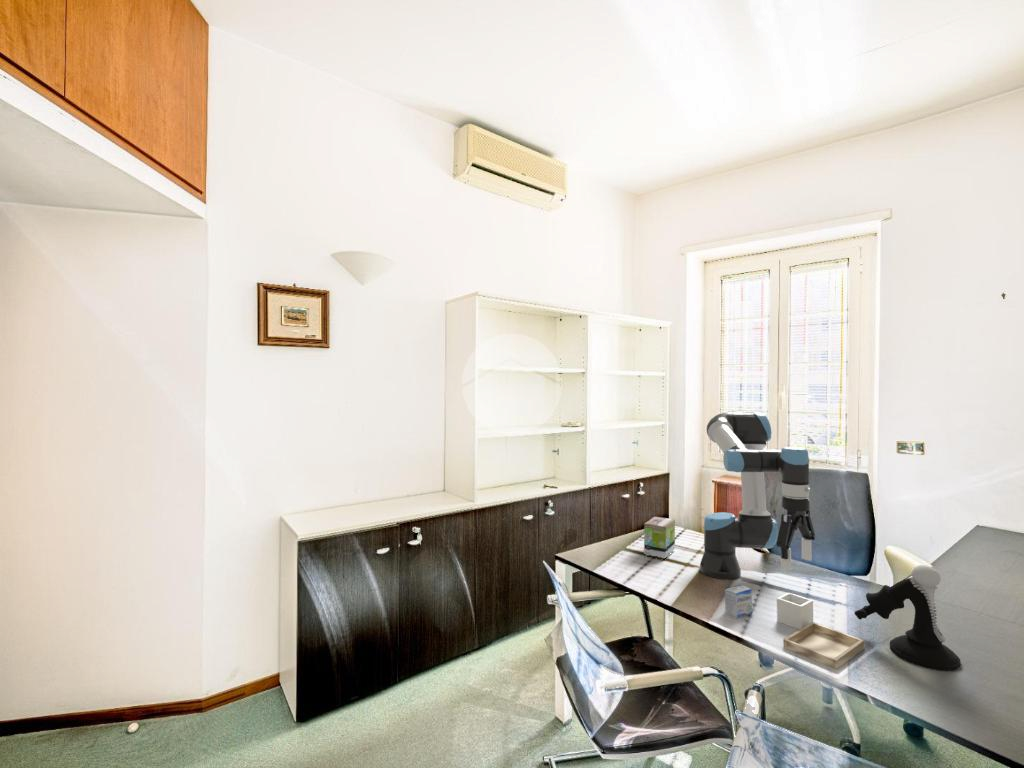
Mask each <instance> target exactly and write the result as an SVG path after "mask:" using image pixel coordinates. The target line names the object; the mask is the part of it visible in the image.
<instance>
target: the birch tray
mask: <svg viewBox="0 0 1024 768" xmlns="http://www.w3.org/2000/svg"><path fill="white" fill-rule="evenodd" d="M783 648H785V649H787V650H789V651H792V652H795V653H797V654H799V655H802V656H804V657H806V658H809V659H812V660H814V661H817V662H818V663H821V664H823V665H825V666H828V667H830V668H833V669H836V670H838V669H839V668H840V667H842V666H844V665H845V663H847V662H849V660H850V659H852V658H854V657H855V656H856V655H857V654H859V653H860V652H862V651H863V650H864V649H865V640H864V639H862V638H859V637H856V636H853V635H851V634H847V633H846V632H845V633H844V632H842V631H840V630H836V629H834V628H830V627H827V626H825V625H823V624H819V623H817V622H815V621H813V622H811V623H810V624H808V625H806V626H805V627H803V628H801V629H800V630H799V629H797V630H796V631H795V632H793V633H791V634H790V635H788V636H786V637H784V638H783Z"/></svg>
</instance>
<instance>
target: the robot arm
mask: <svg viewBox="0 0 1024 768" xmlns="http://www.w3.org/2000/svg"><path fill="white" fill-rule="evenodd" d="M706 434H707V436H708V438H709V439H710V440H711V441H712V442H713V443H715V444H716V445H717V447H719V449H720V450H721V451H722V453H723V459H722V460H723V462H722V463H723V465H724V469H725V471H726V472H734V473H740V481H741V483H740V484H741V499H742V500H741V501H742V503H741V504H742V509H741V510H740V511H739V512H738V517H736V515H735V514H734V513H731V512H724V511H723V512H722V511H721V512H713V513H710V514H708V515H706V516H705V517H704V520H703V521H704V522H703V537H704V539H703V541H704V542H703V544H704V545H703V546H704V548H703V549H704V551H703V554H702V558H701V560H700V563H699V571H700V573H702V574H703V575H705V576H708V577H709V578H710V577H711V578H716V579H720V580H734V579H739V578H741V575H742V573H741V571H742V570H741V567H740V563H739V560H738V558H737V556H736V549H737V548H738V549H739V548H741V549H759V550H762V549H764V550H765V549H772V548H774V546H775V545H776V547H779V548H780V568H781V569H784V570H787V571H792V549H791V548H790V547H791V544H792V542H793V538H794V536H795V532H796V531H797V530H799V532H800V534H801V536H802V538H801V541H800V542H801V559H802V560H805V561H809V562H811V561H812V560H813V559H812V557H813V555H812V553H813V552H812V549H813V548H812V541H815V540H816V537H815V536H816V533H815V529H814V525H813V522H812V518H811V511H810V508H811V507H810V505H811V504H810V499H809V497H810V492H811V488H810V457H809V451H808V449H807V448H804V447H800V446H783V448H774V449H764V448H766V446H767V442H769V441H771V439H772V427H771V423H770V420H769V419H768V416H766V415H765V414H764V413H762V412H756V411H755V412H753V411H752V412H748V411H747V412H722V413H719V414H717V415H715V416H713V417H712V418H711V419H710V420H709V422H708V423H707V424H706ZM765 473H774V474H775V473H776V474H777V473H779V474H781V495H783V496H782V497H781V507H782V508H783V509H784V510H786V514H783V513H782V514H781V517H780V526H779V527H778V523H777V520H776V519H774V518H772V514H771V512H769V511H768V510H767V497H766V481H765V479H766V478H765Z"/></svg>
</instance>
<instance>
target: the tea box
mask: <svg viewBox="0 0 1024 768" xmlns="http://www.w3.org/2000/svg"><path fill="white" fill-rule="evenodd" d="M643 527H644V530H643V532H644V533H643V534H644V535H643V536H644V538H643V539H644V540H643V547H644V548H643V555H644V554H646V555H652V556H658V557H662V558H666V557H667V556H668V557H670V556H671V554H670V553H672V552H673V550H674V549H675V550H676V519H673V518H667V517H661V516H660V517H659V516H653V517H651V518H650V519H649V520H648V521H646V522H644V526H643ZM673 553H674V552H673ZM673 553H672V554H673ZM669 555H670V556H669ZM668 557H667V558H668ZM667 558H666V559H667Z"/></svg>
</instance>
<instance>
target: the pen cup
mask: <svg viewBox="0 0 1024 768" xmlns="http://www.w3.org/2000/svg"><path fill="white" fill-rule="evenodd" d="M776 621H777V623H780V624H784V625H786V626H790V627H792V628H794V629H797V630H800V629H801V628H803V627H805V626H806V625H808V624H810V623H811V622H814V600H813V599H810V598H807V597H803V596H801V595H798V594H794V593H791V592H787V593H785V594H783V595H781V596H779V597H777V598H776Z"/></svg>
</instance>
